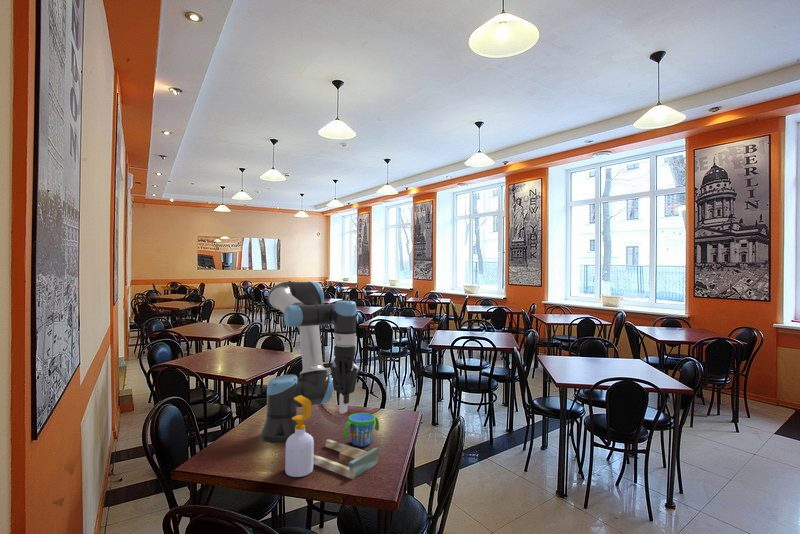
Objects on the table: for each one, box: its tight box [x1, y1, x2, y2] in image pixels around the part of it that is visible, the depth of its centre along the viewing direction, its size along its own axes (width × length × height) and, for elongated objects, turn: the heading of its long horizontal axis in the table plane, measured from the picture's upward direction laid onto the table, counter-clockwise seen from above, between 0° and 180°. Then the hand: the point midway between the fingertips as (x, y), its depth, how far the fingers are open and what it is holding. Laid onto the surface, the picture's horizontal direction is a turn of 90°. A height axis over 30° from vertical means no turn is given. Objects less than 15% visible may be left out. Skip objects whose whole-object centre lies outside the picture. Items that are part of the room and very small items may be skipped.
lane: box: [313, 438, 380, 480], centre depth 144 cm, size 24×14×5 cm, turn 56°
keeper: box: [338, 446, 366, 467], centre depth 141 cm, size 7×6×4 cm
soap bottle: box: [284, 395, 315, 478], centre depth 136 cm, size 9×9×25 cm
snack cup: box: [342, 412, 380, 447], centre depth 159 cm, size 16×10×10 cm
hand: (343, 412), depth 143 cm, fingers closed
